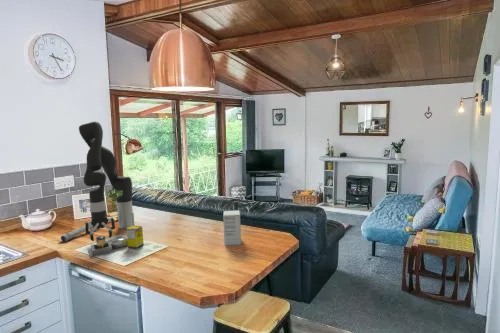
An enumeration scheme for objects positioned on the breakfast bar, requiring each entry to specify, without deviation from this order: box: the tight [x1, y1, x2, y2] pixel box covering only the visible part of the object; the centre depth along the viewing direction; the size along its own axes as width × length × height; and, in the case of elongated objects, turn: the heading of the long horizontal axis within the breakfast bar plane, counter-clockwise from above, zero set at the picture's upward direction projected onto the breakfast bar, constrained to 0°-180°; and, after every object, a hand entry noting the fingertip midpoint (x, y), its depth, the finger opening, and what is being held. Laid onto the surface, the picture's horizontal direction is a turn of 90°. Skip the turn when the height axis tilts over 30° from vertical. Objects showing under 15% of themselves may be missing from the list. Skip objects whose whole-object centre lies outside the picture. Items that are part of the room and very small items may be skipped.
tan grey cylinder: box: [95, 235, 107, 249], centre depth 179 cm, size 4×4×7 cm
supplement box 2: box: [222, 210, 242, 246], centre depth 184 cm, size 10×9×17 cm
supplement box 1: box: [126, 224, 145, 249], centre depth 183 cm, size 6×6×11 cm
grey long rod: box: [60, 224, 99, 243], centre depth 206 cm, size 5×7×25 cm
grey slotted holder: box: [87, 237, 128, 258], centre depth 180 cm, size 19×12×4 cm, turn 120°
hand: (101, 238), depth 178 cm, fingers open, 8 cm apart
